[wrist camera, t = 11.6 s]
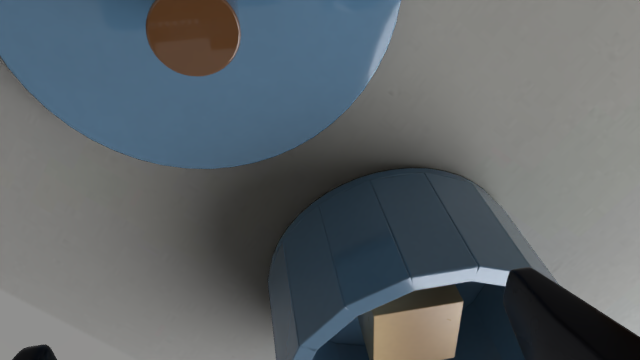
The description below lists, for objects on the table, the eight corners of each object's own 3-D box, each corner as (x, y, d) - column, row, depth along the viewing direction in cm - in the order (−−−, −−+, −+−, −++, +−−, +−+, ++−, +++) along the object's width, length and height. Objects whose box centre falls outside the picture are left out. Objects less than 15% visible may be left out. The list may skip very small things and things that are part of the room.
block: (354, 307, 27) (372, 372, 24) (353, 251, 25) (373, 316, 22) (427, 295, 28) (454, 358, 24) (432, 239, 25) (464, 301, 22)
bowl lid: (61, 175, 21) (20, 264, 16) (-130, -275, 13) (-299, -323, 9) (390, 132, 22) (429, 204, 18) (403, -298, 14) (481, -349, 10)
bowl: (281, 362, 30) (294, 478, 24) (253, 187, 22) (264, 300, 17) (488, 327, 31) (543, 430, 26) (525, 150, 24) (613, 244, 18)
